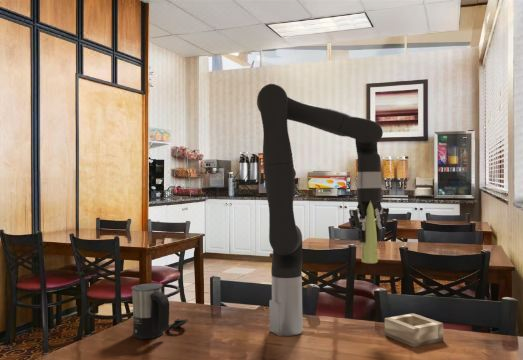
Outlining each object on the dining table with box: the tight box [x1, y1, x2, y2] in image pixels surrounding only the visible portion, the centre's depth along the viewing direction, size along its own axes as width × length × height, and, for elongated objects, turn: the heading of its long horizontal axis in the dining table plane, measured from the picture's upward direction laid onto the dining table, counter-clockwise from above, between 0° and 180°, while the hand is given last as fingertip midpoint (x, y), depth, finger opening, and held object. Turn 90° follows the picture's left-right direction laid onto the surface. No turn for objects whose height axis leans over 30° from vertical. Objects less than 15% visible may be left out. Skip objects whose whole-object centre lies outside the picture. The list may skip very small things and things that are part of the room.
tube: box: [361, 200, 379, 264], centre depth 153 cm, size 6×5×20 cm
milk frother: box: [131, 283, 189, 340], centre depth 154 cm, size 14×16×15 cm
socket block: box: [384, 313, 444, 348], centre depth 144 cm, size 11×12×5 cm
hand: (369, 241), depth 153 cm, fingers closed on tube, 4 cm apart
